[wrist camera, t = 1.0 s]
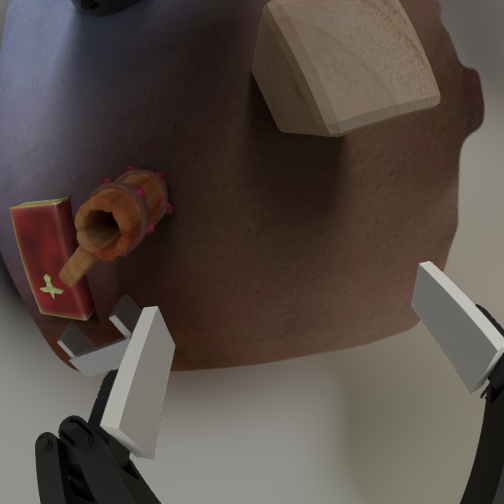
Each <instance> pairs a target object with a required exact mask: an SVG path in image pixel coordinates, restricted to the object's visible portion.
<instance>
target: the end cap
mask: <svg viewBox="0 0 504 504" xmlns="http://www.w3.org/2000/svg"><path fill="white" fill-rule="evenodd" d="M141 313H142V310H141V309H140V308H139V307H138V305H137V304H136V303H135V302H134V300H133V299H132V298H131V297H130V295H129V294H128V293H126V294H124V295H122V296H121V298H120V299H119V301H118V303H117V305H116V306H115V308H114V310H113V311H112V313H111V315H110V317H109V319H110V320H111V321H112V322H113V324H114V325H115V326H116V327H117V328H118V329H119V330H120V331H121V333H122V334H123V335H124V336H125V337H122V338H120V339H117V340H114V341H112V342H109V343H107V344H104V345H101V346H99V347H96V346H95V344H94V343H93V342H92V341H91V340H90V339H89V338H88V337H87V336H86V335H85V334H84V332H83V331H82V330H81V329H80V328H79V327H78V326H77V324H76V323H75V322H74V321H72V322H70V323H69V325H68V326H67V328H66V329H65V331H64V332H63V334H62V335H61V337H60V338H59V340H58V341H57V343H58V344H59V345H60V346H61V347H62V348H63V349H64V350H65V351H66V352H67V353H68V354H69V355H70V356H71V358H70V359H69V361H70V362H71V363H72V364H73V365H74V366H75V367H76V368H77V369H78V370H79V371H80V372H81V373H82V374H83V375H84V376H86V377H90V376H93V375H97V374H101V373H105V372H108V371H111V370H115V369H119V368H120V365H121V363H122V360H123V357H124V355H125V352H126V350H127V347H128V345H129V342H130V340H131V337H132V335H133V332H134V330H135V327H136V325H137V323H138V320H139V318H140V315H141Z"/></svg>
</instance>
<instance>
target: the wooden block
mask: <svg viewBox="0 0 504 504" xmlns="http://www.w3.org/2000/svg"><path fill="white" fill-rule="evenodd" d="M251 72H252V74H253V76H254V78H255V80H256V82H257V84H258V86H259V88H260V90H261V93H262V95H263V97H264V99H265V101H266V103H267V105H268V108H269V110H270V112H271V114H272V116H273V119H274V121H275V123H276V125H277V128H278V129H279V130H280V131H281V132H285V133H298V134H309V135H318V136H328V137H340V136H343V135H346V134H349V133H352V132H355V131H358V130H361V129H364V128H368V127H371V126H374V125H377V124H380V123H384V122H387V121H390V120H394V119H397V118H401V117H404V116H408V115H412V114H416V113H419V112H423V111H427V110H431V109H433V108H434V107H435V106H437V105H438V104H439V103H440V93H439V90H438V87H437V84H436V81H435V78H434V75H433V72H432V70H431V67H430V64H429V62H428V59H427V57H426V54H425V52H424V50H423V47H422V45H421V43H420V41H419V38H418V36H417V34H416V32H415V30H414V28H413V26H412V24H411V22H410V20H409V18H408V16H407V14H406V13H405V11H404V9H403V7H402V5H401V4H400V2H399V0H271V1H270V2H268V3H267V4H265V5H264V6H263V9H262V14H261V19H260V24H259V29H258V34H257V39H256V44H255V50H254V55H253V60H252V66H251Z"/></svg>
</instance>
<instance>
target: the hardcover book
mask: <svg viewBox="0 0 504 504" xmlns="http://www.w3.org/2000/svg"><path fill="white" fill-rule="evenodd" d="M10 213H11V218H12V223H13V227H14V232H15V236H16V240H17V244H18V248H19V251H20V255H21V258H22V262H23V265H24V268H25V271H26V274H27V277H28V280H29V283H30V286H31V289H32V292H33V294H34V297H35V300H36V302H37V305H38V307H39V310H40V312H41V314H47V315H52V316H58V317H64V318H70V319H77V320H84V321H87V320H88V319H89V318H90V317H91V316H92V314H93V313H94V310H95V308H94V305H93V302H92V299H91V295H90V292H89V289H88V285H87V281H86V278H85V275H84V276H83V278H82V279H81V280H80V281H79V282H78V283H77V284H76V286H74V287H73V288H72V289H70V288H69V287H68V286H67V285H66V284H64V283H63V281H62V280H61V279H60V278H59V273H60V271H61V270H62V268H63V267H64V265H65V264H66V263H67V261H68V260H69V259H70V258H71V256H72V255H73V254H74V253H75V252H76V249H77V248H78V245H77V240H76V235H75V230H74V225H73V219H72V213H71V207H70V200H69V195H68V196H66V197H64V198H62V199H53V200H44V201H35V202H27V203H22V204H20V205H19V206H12V207H10Z"/></svg>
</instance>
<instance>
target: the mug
mask: <svg viewBox="0 0 504 504" xmlns="http://www.w3.org/2000/svg"><path fill="white" fill-rule="evenodd" d="M164 178H165V177H164V174H163V173H162V172H161V173H154V172H152V171H149V170H146V169H135V168H134V167H133V166H129V167H127V169H126V173H125V174H123V175H121V176H120V177H119V178H118V179H117V180H116V181H115V182H112V181H111V180H110V179H108V178H104V179H102V180H101V182H100V187H99V188H97V189H96V190H94V191H93V192H92V193H91V195H90V196H89V197H88V199H87V200H86V202H85V203H84V204H82V205H81V207H80V208H79V210H78V212H77V214H76V217H75V227H76V228H77V230H78V234H77V240H78V242H79V244H80V246H79V247H78V248H77V249H76V252H75V253H74V254H73V255H72V256H71V258H70V259H69V260H68V261H67V263H66V264H65V265H64V267H63V268H62V270H61V271H60V273H59V278H60V279H61V280H62V281H63V283H64V284H66V285H67V286H68V287H69V288H70V289H72V288H73V287H74V286H76V284H77V283H78V282H79V281H80V280H81V279H82V278H83V276H84V275H85V274H86V273H87V272H88V271H89V269H90V268H91V267H92V266H93V265H94V264H95V263H96V261H97V260H98V259H100V260H102V261H112V260H115V259H116V257H117V256H121V255H122V256H123V257H128V256H129V255H130V251H132V250H133V249H135V248H136V247H137V246H138V245H139V243H140V242H141V241H142V240H143V238H144V237H145V236H147V235H149V234H152V233H153V231H154V229H155V228H154V226H155V225H156V224H157V223H158V222H159V221H160V220H161V218H162V217H163V215H164V214H169V213H171V212H172V206H171V204H169V203H168V192H167V185H166V183H165V181H164Z"/></svg>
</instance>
